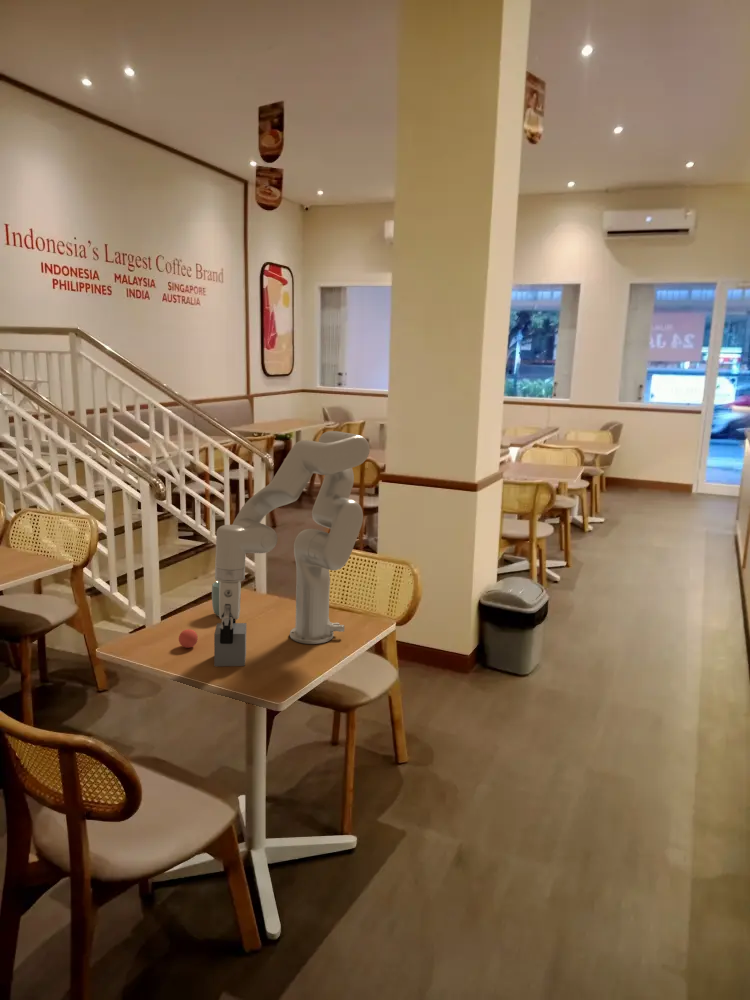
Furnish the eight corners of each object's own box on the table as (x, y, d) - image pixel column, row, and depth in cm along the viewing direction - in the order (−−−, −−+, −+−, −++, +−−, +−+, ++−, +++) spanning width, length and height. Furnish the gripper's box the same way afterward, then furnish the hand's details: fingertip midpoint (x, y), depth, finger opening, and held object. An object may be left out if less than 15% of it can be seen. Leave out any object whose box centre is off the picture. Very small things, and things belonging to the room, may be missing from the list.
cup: (207, 617, 218) (207, 586, 216) (220, 609, 225) (220, 579, 223) (230, 621, 215) (230, 589, 213) (242, 612, 223) (242, 582, 221)
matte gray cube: (246, 654, 192) (246, 623, 190) (244, 665, 184) (244, 633, 183) (217, 654, 191) (217, 623, 189) (214, 666, 183) (214, 634, 182)
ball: (198, 643, 197) (198, 626, 197) (196, 650, 193) (196, 633, 192) (180, 643, 197) (180, 626, 196) (177, 650, 192) (177, 633, 191)
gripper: (243, 583, 175) (240, 649, 178) (246, 564, 192) (244, 625, 195) (212, 582, 174) (209, 648, 177) (218, 564, 191) (216, 624, 194)
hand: (227, 636), depth 186 cm, fingers open, 9 cm apart
